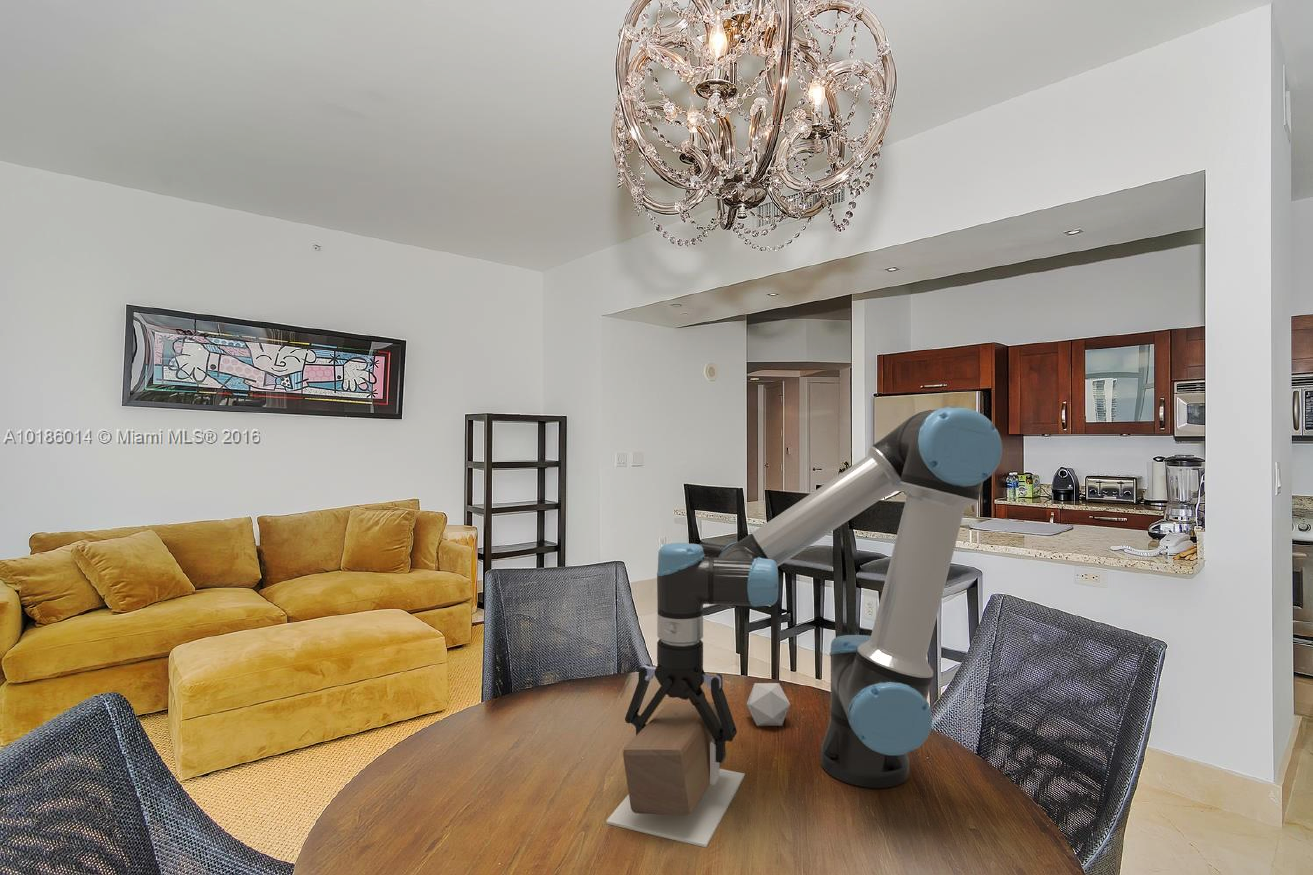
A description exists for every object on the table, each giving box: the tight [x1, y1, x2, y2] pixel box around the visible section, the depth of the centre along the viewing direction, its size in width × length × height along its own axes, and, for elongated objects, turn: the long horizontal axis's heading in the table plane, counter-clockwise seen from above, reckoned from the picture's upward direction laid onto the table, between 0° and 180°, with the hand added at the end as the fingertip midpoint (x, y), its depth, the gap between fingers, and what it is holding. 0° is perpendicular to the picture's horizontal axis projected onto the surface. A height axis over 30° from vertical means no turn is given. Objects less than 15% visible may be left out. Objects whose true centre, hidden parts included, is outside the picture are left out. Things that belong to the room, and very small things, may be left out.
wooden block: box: [622, 701, 727, 815], centre depth 109 cm, size 10×10×20 cm
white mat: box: [605, 768, 745, 848], centre depth 109 cm, size 16×22×1 cm
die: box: [746, 682, 791, 727], centre depth 138 cm, size 8×9×10 cm
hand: (679, 773), depth 109 cm, fingers closed on wooden block, 11 cm apart
